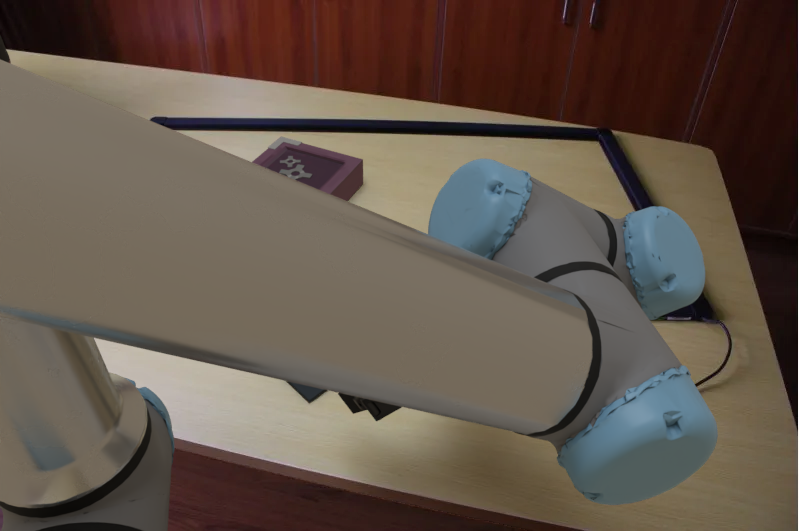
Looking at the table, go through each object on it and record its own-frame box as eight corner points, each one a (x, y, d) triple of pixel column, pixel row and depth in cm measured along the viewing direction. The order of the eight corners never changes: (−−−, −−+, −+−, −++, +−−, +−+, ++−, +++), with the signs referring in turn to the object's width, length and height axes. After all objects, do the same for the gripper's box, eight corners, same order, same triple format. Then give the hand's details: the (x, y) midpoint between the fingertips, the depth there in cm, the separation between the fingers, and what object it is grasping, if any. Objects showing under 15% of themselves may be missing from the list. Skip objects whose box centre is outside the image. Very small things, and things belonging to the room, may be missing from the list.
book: (283, 160, 116) (280, 136, 113) (363, 183, 111) (363, 158, 108) (194, 240, 98) (188, 213, 95) (284, 270, 93) (281, 244, 90)
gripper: (477, 442, 48) (334, 467, 64) (598, 272, 64) (461, 325, 80) (418, 364, 47) (289, 408, 63) (556, 211, 63) (425, 277, 79)
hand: (385, 362), depth 72 cm, fingers open, 13 cm apart
